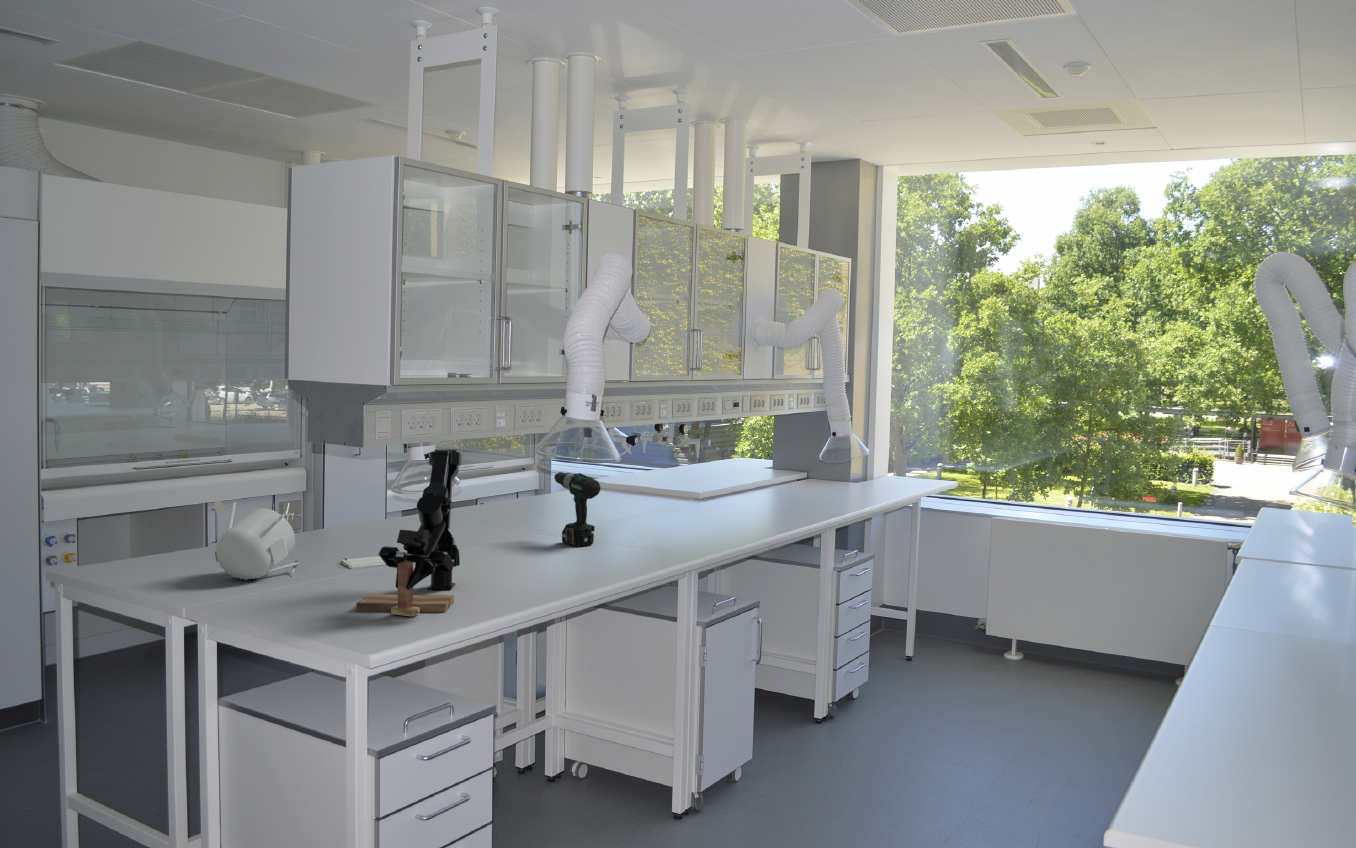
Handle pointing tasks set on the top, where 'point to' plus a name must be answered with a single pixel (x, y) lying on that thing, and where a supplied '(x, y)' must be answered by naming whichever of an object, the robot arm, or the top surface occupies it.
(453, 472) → the robot arm
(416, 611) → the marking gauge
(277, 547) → the satellite
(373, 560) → the baseboard molding
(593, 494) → the power drill
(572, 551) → the top surface
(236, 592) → the top surface
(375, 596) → the tan wooden flat board
